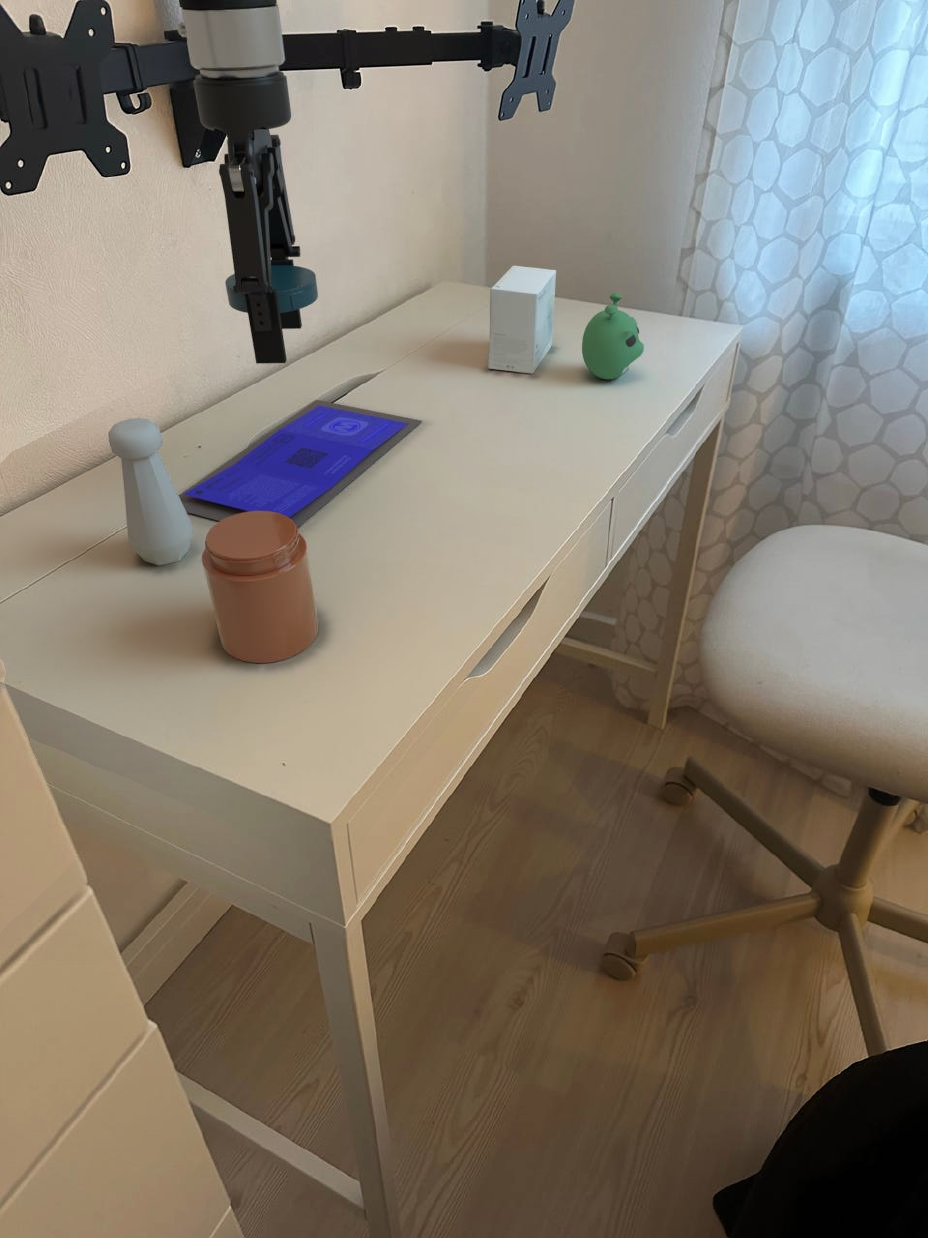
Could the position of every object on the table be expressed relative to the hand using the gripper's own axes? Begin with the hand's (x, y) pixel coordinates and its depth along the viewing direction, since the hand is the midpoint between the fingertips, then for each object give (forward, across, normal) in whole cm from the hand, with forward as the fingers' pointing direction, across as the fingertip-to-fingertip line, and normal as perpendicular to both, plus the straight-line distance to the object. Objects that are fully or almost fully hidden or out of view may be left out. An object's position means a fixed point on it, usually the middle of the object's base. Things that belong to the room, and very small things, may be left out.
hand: (280, 343), depth 86 cm
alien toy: (+15, -25, +36) cm, 46 cm away
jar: (+14, +27, +2) cm, 31 cm away
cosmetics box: (+15, -32, +25) cm, 43 cm away
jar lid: (-6, 0, 0) cm, 6 cm away
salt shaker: (+14, +15, -10) cm, 23 cm away
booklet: (+14, -3, 0) cm, 15 cm away
